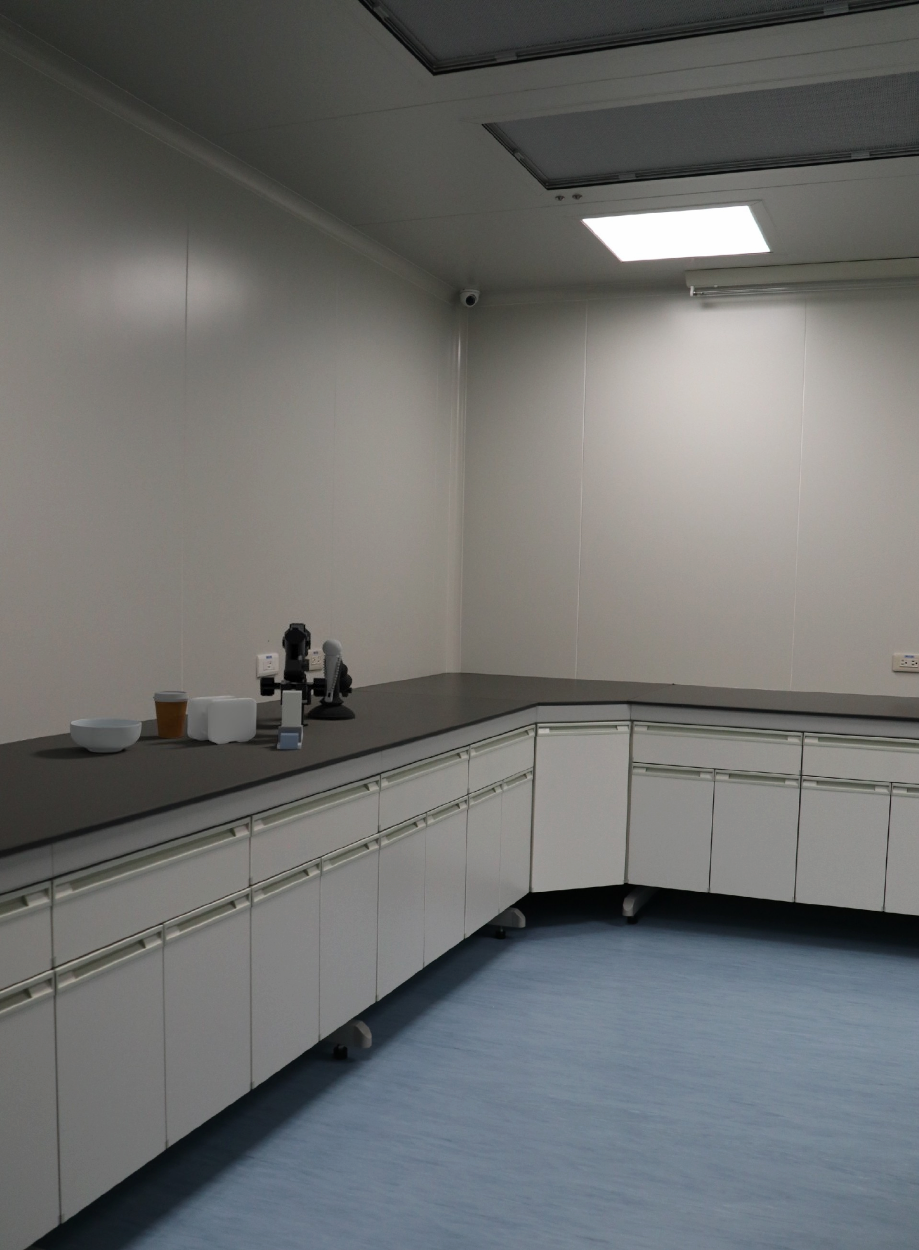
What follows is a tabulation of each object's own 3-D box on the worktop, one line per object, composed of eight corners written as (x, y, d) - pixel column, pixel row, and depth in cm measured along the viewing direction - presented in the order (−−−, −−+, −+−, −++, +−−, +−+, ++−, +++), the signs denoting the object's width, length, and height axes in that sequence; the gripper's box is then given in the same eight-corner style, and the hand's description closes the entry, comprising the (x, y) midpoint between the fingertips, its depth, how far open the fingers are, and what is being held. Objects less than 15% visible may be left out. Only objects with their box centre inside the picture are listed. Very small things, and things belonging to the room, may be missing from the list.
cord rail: (281, 735, 291) (281, 717, 291) (302, 735, 292) (303, 717, 292) (277, 749, 267) (277, 729, 267) (300, 749, 268) (301, 729, 268)
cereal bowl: (106, 758, 248) (107, 728, 247) (54, 751, 255) (54, 722, 254) (155, 748, 263) (156, 720, 263) (105, 742, 270) (105, 715, 270)
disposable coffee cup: (167, 740, 277) (167, 695, 276) (145, 736, 283) (145, 692, 282) (196, 736, 284) (196, 692, 284) (173, 733, 290) (174, 689, 290)
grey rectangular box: (282, 733, 287) (283, 690, 286) (300, 733, 287) (301, 690, 287) (281, 735, 282) (282, 692, 281) (300, 735, 282) (301, 692, 282)
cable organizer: (208, 746, 270) (209, 701, 269) (185, 741, 277) (186, 697, 276) (256, 740, 280) (257, 697, 280) (233, 736, 288) (234, 694, 287)
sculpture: (300, 719, 327) (302, 639, 326) (323, 710, 350) (324, 635, 349) (347, 721, 324) (349, 641, 323) (367, 712, 348) (369, 637, 347)
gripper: (261, 648, 294) (257, 691, 283) (327, 649, 296) (327, 692, 286) (262, 673, 302) (258, 716, 292) (327, 674, 305) (326, 717, 294)
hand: (292, 710), depth 291 cm, fingers closed
